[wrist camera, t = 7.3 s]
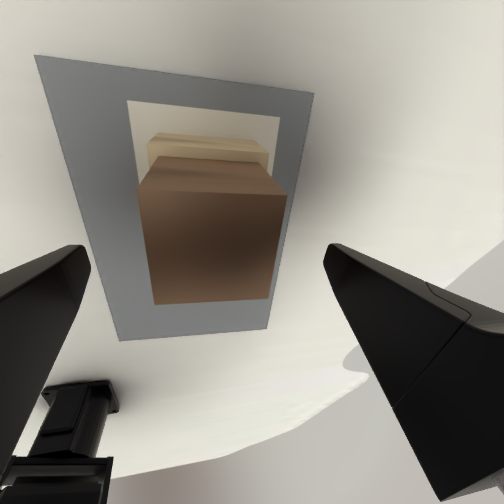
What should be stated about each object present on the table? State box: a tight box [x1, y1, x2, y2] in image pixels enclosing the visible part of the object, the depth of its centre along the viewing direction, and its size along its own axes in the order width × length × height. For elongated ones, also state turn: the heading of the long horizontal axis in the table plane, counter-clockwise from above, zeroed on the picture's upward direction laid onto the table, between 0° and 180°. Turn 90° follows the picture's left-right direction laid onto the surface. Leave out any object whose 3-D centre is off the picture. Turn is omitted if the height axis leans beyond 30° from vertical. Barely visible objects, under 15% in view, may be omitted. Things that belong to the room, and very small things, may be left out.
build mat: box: [34, 55, 314, 341], centre depth 19 cm, size 22×15×1 cm
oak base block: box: [146, 132, 269, 171], centre depth 15 cm, size 6×6×4 cm
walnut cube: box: [136, 156, 288, 305], centre depth 11 cm, size 5×5×5 cm
